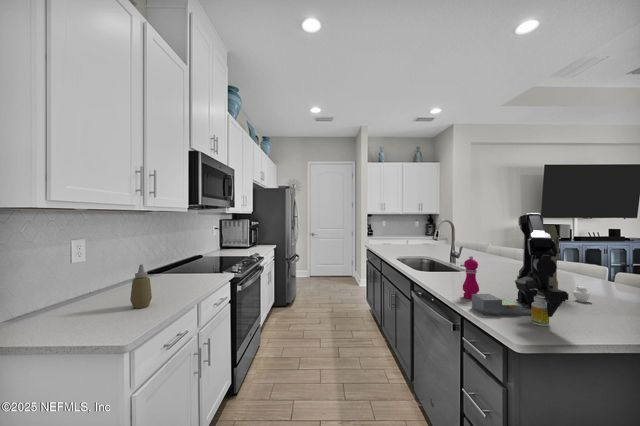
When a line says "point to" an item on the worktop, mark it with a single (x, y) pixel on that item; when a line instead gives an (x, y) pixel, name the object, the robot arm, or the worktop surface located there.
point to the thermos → (553, 233)
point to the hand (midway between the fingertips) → (540, 312)
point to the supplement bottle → (539, 311)
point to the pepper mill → (470, 278)
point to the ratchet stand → (498, 306)
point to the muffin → (581, 294)
